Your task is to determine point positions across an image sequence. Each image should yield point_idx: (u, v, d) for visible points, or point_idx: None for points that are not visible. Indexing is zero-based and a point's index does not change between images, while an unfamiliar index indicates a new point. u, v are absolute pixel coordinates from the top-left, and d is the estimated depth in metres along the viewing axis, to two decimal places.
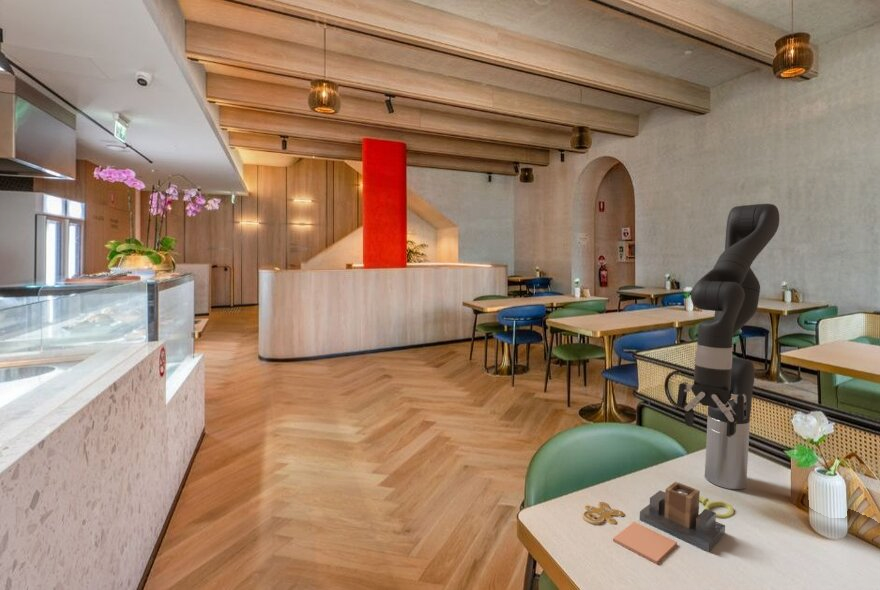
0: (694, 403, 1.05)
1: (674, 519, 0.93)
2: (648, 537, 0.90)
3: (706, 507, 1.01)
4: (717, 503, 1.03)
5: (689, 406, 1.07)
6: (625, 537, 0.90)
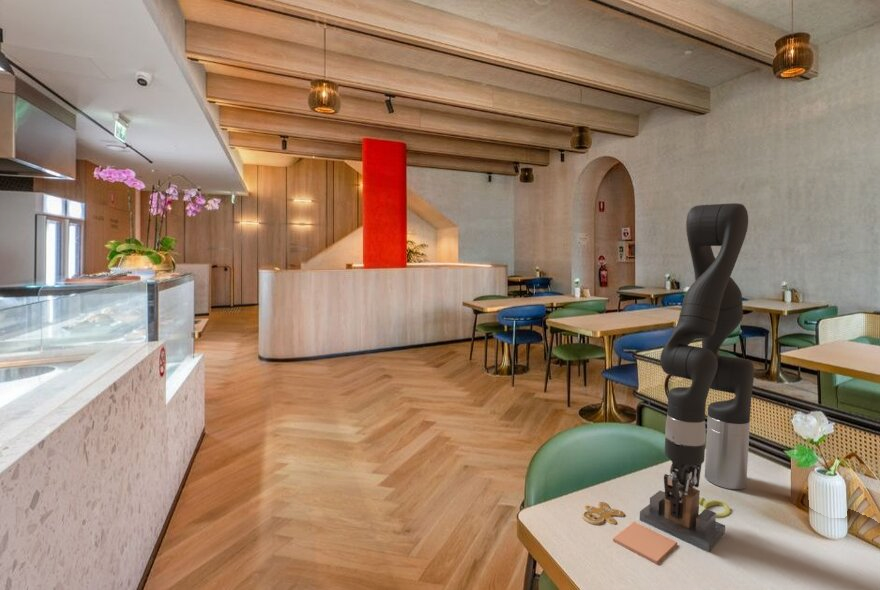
0: (687, 489, 0.91)
1: (674, 519, 0.93)
2: (648, 537, 0.90)
3: (704, 507, 1.01)
4: (713, 502, 1.03)
5: (682, 496, 0.91)
6: (625, 537, 0.90)
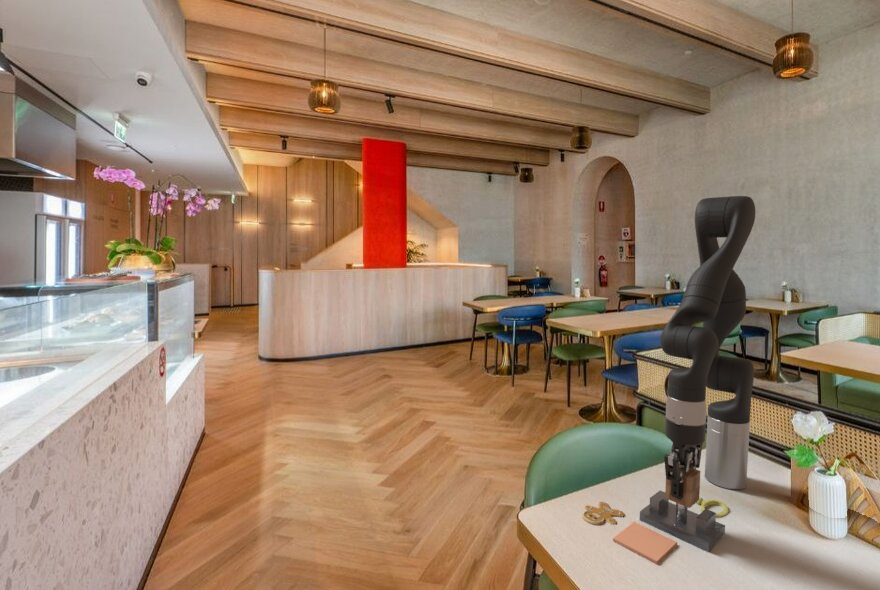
0: (687, 469, 0.91)
1: (675, 499, 0.93)
2: (648, 537, 0.90)
3: (703, 507, 1.01)
4: (711, 501, 1.03)
5: (683, 476, 0.91)
6: (625, 537, 0.90)
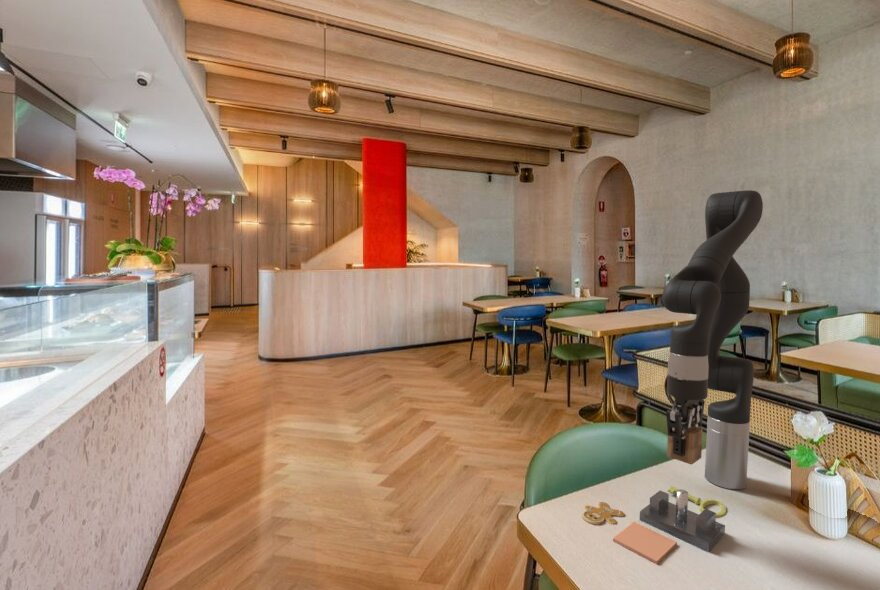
0: (690, 425, 0.90)
1: (677, 457, 0.92)
2: (648, 537, 0.90)
3: (702, 507, 1.01)
4: (709, 501, 1.03)
5: (685, 432, 0.90)
6: (625, 537, 0.90)
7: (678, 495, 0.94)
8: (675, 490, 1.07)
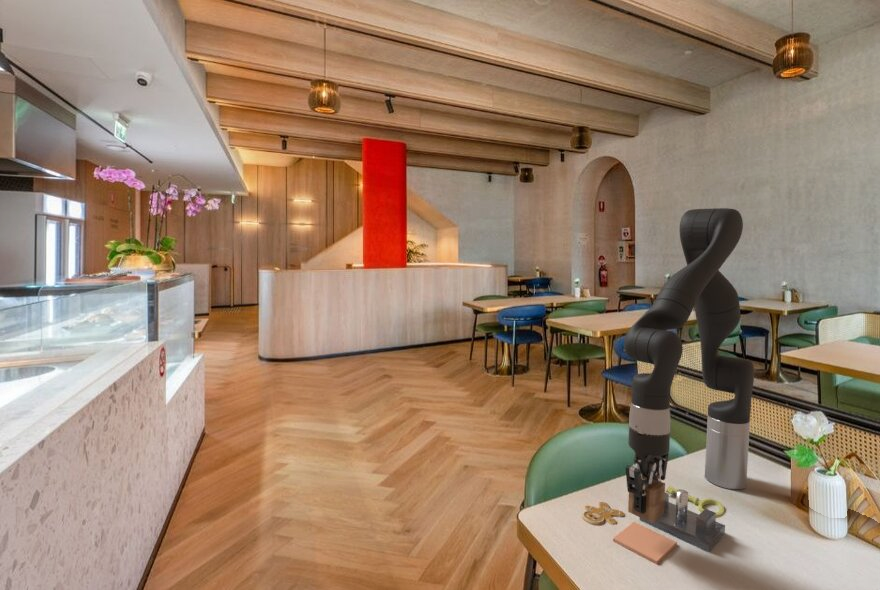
0: (650, 481, 0.86)
1: (638, 514, 0.88)
2: (648, 537, 0.90)
3: (700, 507, 1.01)
4: (707, 501, 1.04)
5: (646, 489, 0.85)
6: (625, 537, 0.90)
7: (678, 495, 0.94)
8: (673, 490, 1.07)
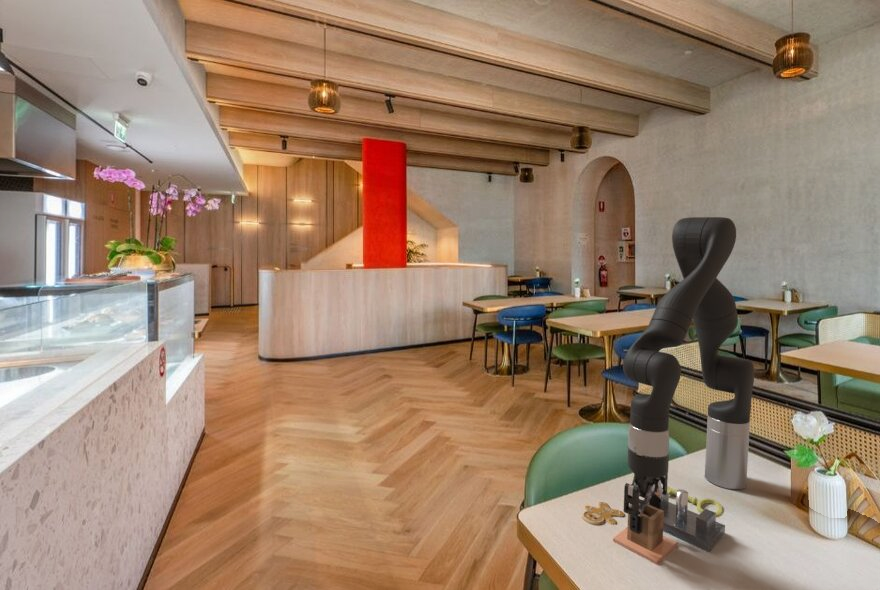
0: (648, 502, 0.86)
1: (637, 541, 0.88)
2: None
3: (699, 507, 1.01)
4: (705, 500, 1.04)
5: (642, 509, 0.85)
6: (625, 537, 0.90)
7: (678, 495, 0.94)
8: (671, 491, 1.07)
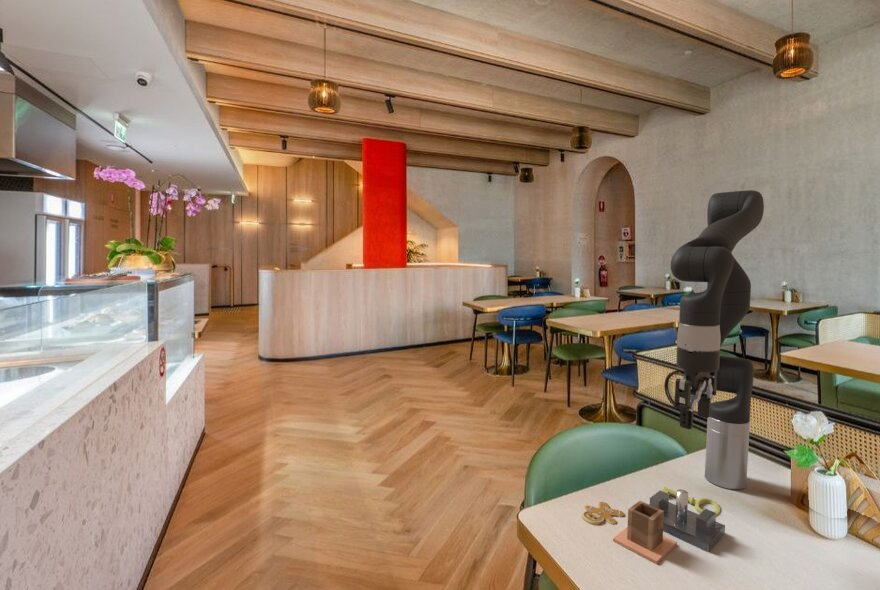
0: (699, 398, 0.85)
1: (637, 541, 0.88)
2: None
3: (698, 507, 1.01)
4: (702, 500, 1.04)
5: (693, 404, 0.85)
6: (625, 537, 0.90)
7: (678, 495, 0.94)
8: (669, 491, 1.07)
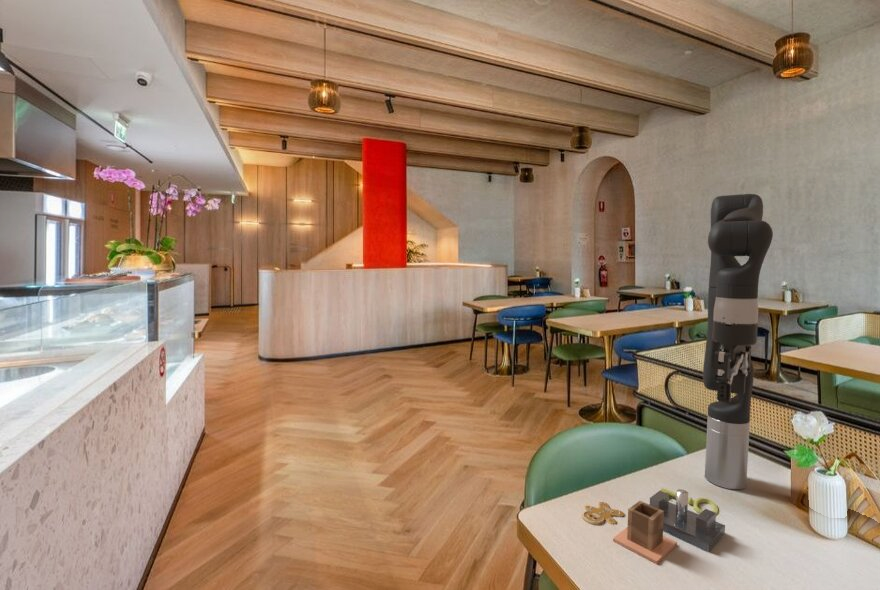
0: (737, 371, 0.86)
1: (637, 541, 0.88)
2: None
3: (697, 507, 1.00)
4: (700, 500, 1.04)
5: (731, 377, 0.85)
6: (625, 537, 0.90)
7: (678, 495, 0.94)
8: (666, 492, 1.07)
